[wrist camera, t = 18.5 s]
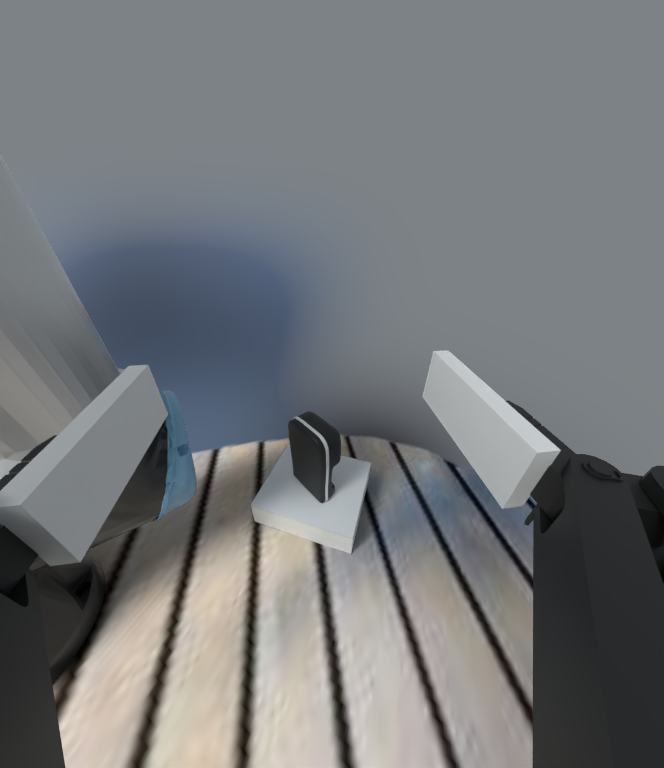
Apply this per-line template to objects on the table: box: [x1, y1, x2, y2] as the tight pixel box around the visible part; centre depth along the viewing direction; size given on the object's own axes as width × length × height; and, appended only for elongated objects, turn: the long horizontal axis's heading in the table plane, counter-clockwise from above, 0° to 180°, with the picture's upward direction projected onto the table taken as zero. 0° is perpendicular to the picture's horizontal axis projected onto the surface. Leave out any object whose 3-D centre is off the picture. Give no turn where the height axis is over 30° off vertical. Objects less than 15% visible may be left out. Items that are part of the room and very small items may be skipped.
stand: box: [251, 442, 371, 554], centre depth 40 cm, size 14×12×4 cm
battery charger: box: [288, 412, 341, 503], centre depth 35 cm, size 7×4×11 cm, turn 43°
